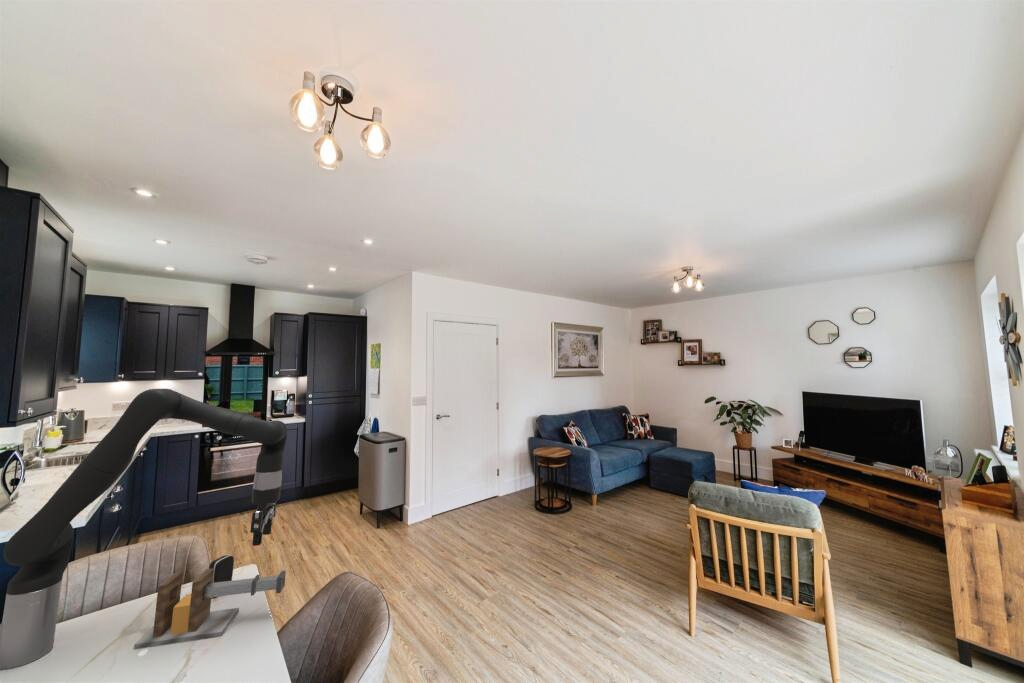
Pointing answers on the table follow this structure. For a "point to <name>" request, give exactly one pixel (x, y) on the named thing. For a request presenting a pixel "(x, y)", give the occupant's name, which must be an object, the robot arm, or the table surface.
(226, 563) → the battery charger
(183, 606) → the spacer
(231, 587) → the shaft
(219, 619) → the stand
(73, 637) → the table surface
